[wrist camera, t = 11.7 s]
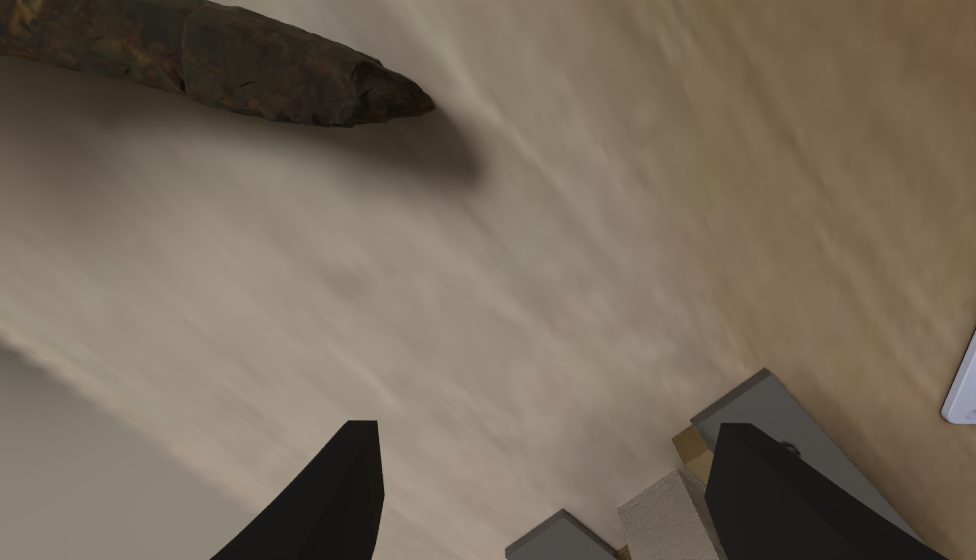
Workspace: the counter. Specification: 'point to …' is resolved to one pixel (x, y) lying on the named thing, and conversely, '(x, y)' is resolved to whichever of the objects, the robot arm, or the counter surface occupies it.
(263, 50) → the brown wooden log
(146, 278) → the counter surface
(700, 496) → the aluminum bar stock
